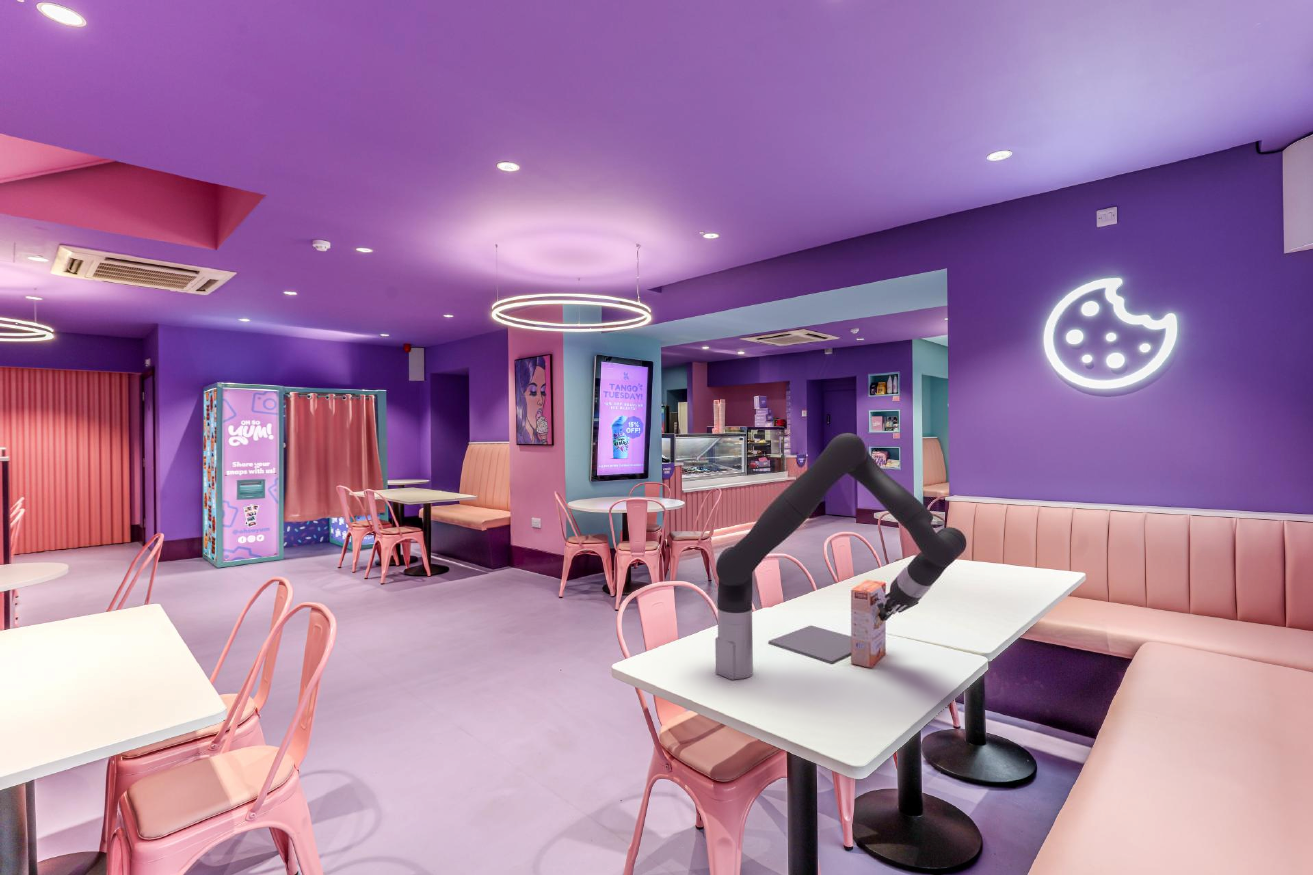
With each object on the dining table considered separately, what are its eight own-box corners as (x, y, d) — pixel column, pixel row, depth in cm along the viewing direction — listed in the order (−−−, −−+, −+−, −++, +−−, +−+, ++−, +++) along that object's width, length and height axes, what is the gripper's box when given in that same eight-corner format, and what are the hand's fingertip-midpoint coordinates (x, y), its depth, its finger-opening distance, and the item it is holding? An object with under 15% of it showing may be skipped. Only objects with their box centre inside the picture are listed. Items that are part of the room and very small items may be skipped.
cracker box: (872, 669, 158) (871, 591, 158) (850, 664, 162) (849, 588, 162) (887, 653, 169) (886, 581, 169) (866, 649, 173) (865, 578, 173)
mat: (831, 663, 162) (831, 661, 162) (768, 643, 179) (768, 640, 179) (873, 644, 176) (872, 642, 176) (810, 627, 193) (810, 625, 193)
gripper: (926, 569, 154) (895, 603, 166) (883, 573, 151) (855, 607, 163) (941, 594, 149) (908, 628, 161) (896, 599, 146) (867, 632, 157)
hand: (881, 617), depth 162 cm, fingers closed
